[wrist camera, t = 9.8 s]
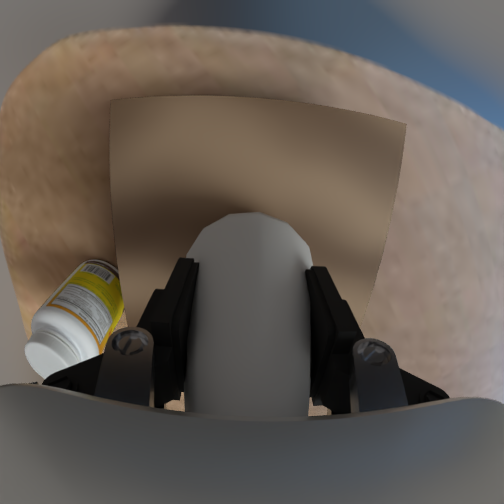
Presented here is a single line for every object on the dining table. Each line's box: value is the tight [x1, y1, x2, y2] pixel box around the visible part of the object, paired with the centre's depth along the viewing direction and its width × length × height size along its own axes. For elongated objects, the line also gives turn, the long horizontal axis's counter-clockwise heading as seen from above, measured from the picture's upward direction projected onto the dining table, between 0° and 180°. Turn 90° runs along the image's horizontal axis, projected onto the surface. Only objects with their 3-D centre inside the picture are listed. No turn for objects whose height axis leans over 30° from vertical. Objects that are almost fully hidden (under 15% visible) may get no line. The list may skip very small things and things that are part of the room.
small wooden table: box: [109, 95, 407, 327], centre depth 18 cm, size 15×15×6 cm
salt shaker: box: [184, 212, 313, 417], centre depth 10 cm, size 6×6×13 cm
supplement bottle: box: [25, 260, 125, 379], centre depth 19 cm, size 6×6×10 cm
